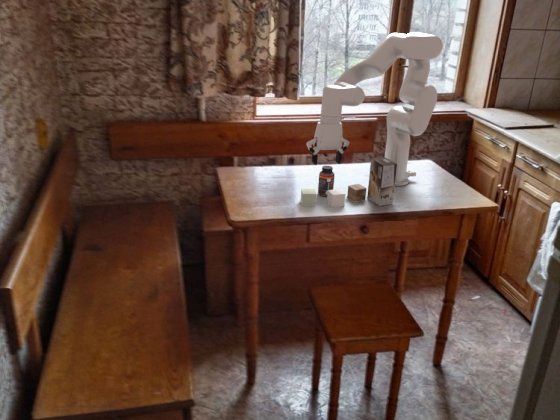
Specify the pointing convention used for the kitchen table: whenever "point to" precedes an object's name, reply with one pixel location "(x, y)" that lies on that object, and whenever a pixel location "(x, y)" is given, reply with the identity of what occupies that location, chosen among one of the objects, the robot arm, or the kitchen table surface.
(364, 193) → the walnut cube
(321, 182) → the supplement bottle
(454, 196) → the kitchen table surface
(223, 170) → the kitchen table surface
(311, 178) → the kitchen table surface
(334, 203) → the pale pinkish white cube
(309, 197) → the sage cube
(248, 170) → the kitchen table surface
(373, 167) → the coffee box
